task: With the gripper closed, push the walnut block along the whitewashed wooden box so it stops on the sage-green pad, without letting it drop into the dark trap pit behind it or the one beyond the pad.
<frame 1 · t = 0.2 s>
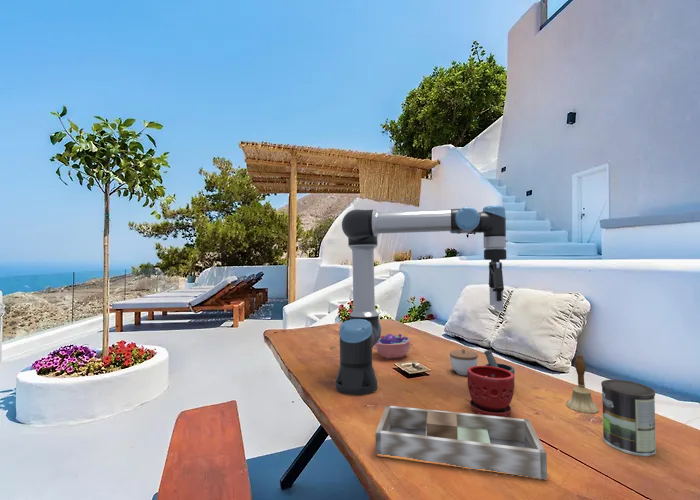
hand: (496, 307, 125), 28 cm above the table, tool pointing down, fingers open, 13 cm apart
lidded jar: (464, 373, 138), on the table
mortar and pestle: (498, 386, 124), on the table
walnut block: (442, 436, 85), point 2 cm above the table, touching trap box
cell model: (392, 357, 162), on the table
hand bell: (582, 408, 106), on the table
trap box: (455, 448, 84), on the table
coffee can: (629, 445, 85), on the table
plant pot: (491, 411, 104), on the table
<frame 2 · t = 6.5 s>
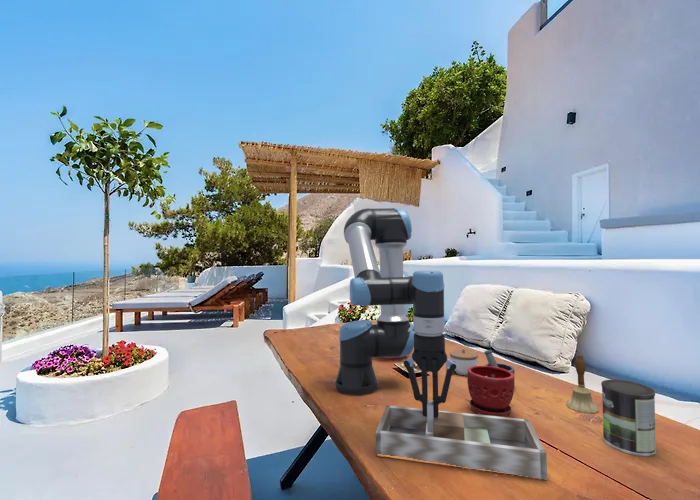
hand: (430, 429, 85), 4 cm above the table, tool pointing down, fingers closed
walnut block: (448, 437, 84), point 3 cm above the table, touching gripper, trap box
everything else where it was.
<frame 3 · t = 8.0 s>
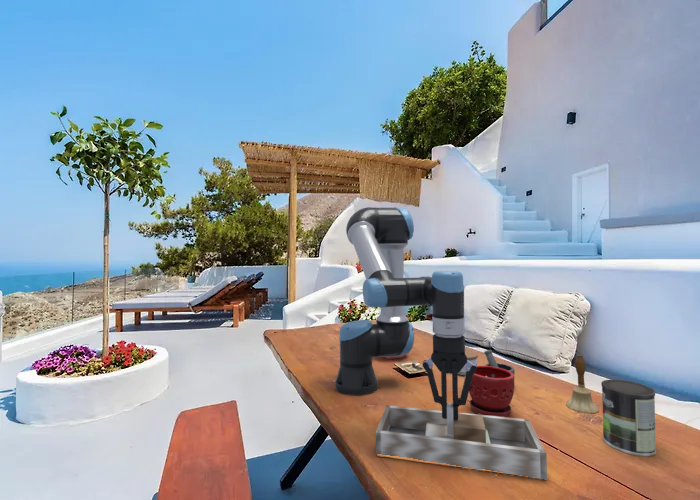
hand: (450, 431, 84), 4 cm above the table, tool pointing down, fingers closed
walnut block: (468, 439, 83), point 2 cm above the table, touching gripper, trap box
everything else where it was.
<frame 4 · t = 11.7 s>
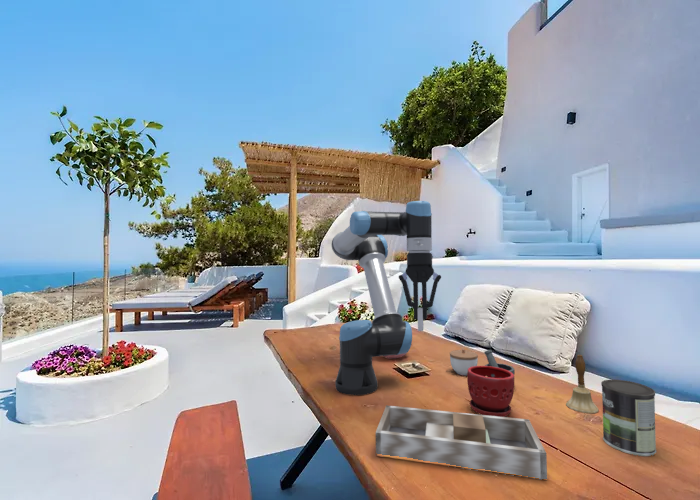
hand: (420, 329, 105), 24 cm above the table, tool pointing down, fingers closed
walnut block: (468, 439, 83), point 2 cm above the table, touching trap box
everything else where it was.
at the end: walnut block inside the target area on the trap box (1.0 cm from its centre), point 2.5 cm above the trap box's base; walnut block tilted 0° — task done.
